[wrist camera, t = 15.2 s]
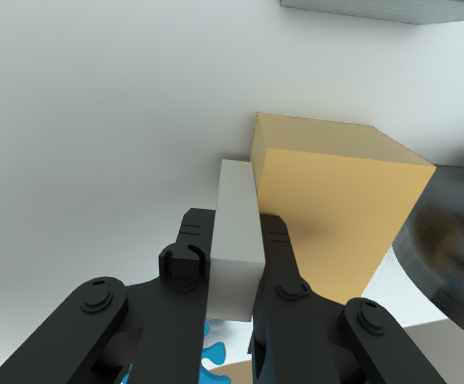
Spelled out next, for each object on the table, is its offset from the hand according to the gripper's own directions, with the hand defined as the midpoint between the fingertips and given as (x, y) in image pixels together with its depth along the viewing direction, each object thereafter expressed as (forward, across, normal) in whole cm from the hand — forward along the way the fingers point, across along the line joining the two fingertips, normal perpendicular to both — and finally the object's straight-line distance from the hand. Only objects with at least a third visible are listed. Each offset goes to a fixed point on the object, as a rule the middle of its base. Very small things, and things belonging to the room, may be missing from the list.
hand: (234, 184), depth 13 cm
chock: (+2, +4, -1) cm, 4 cm away
